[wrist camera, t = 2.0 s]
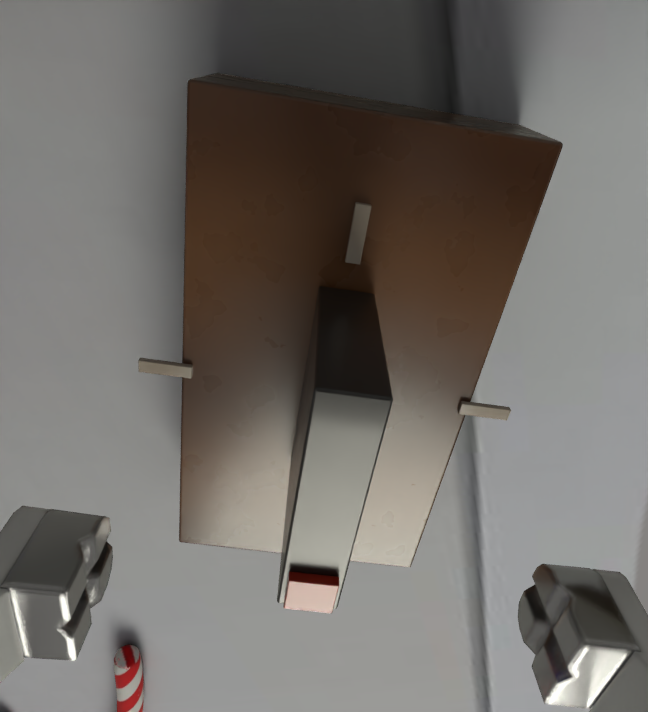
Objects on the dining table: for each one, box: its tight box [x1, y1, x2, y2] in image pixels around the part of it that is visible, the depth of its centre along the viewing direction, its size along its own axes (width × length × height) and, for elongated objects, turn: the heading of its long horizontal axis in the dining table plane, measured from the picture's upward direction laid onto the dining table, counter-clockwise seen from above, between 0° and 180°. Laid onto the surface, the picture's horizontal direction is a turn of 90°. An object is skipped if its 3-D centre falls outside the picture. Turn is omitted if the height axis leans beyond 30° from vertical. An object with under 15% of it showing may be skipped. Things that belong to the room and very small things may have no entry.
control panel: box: [139, 73, 563, 567], centre depth 16 cm, size 14×10×3 cm
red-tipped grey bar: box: [277, 286, 393, 613], centre depth 12 cm, size 6×1×5 cm, turn 171°
